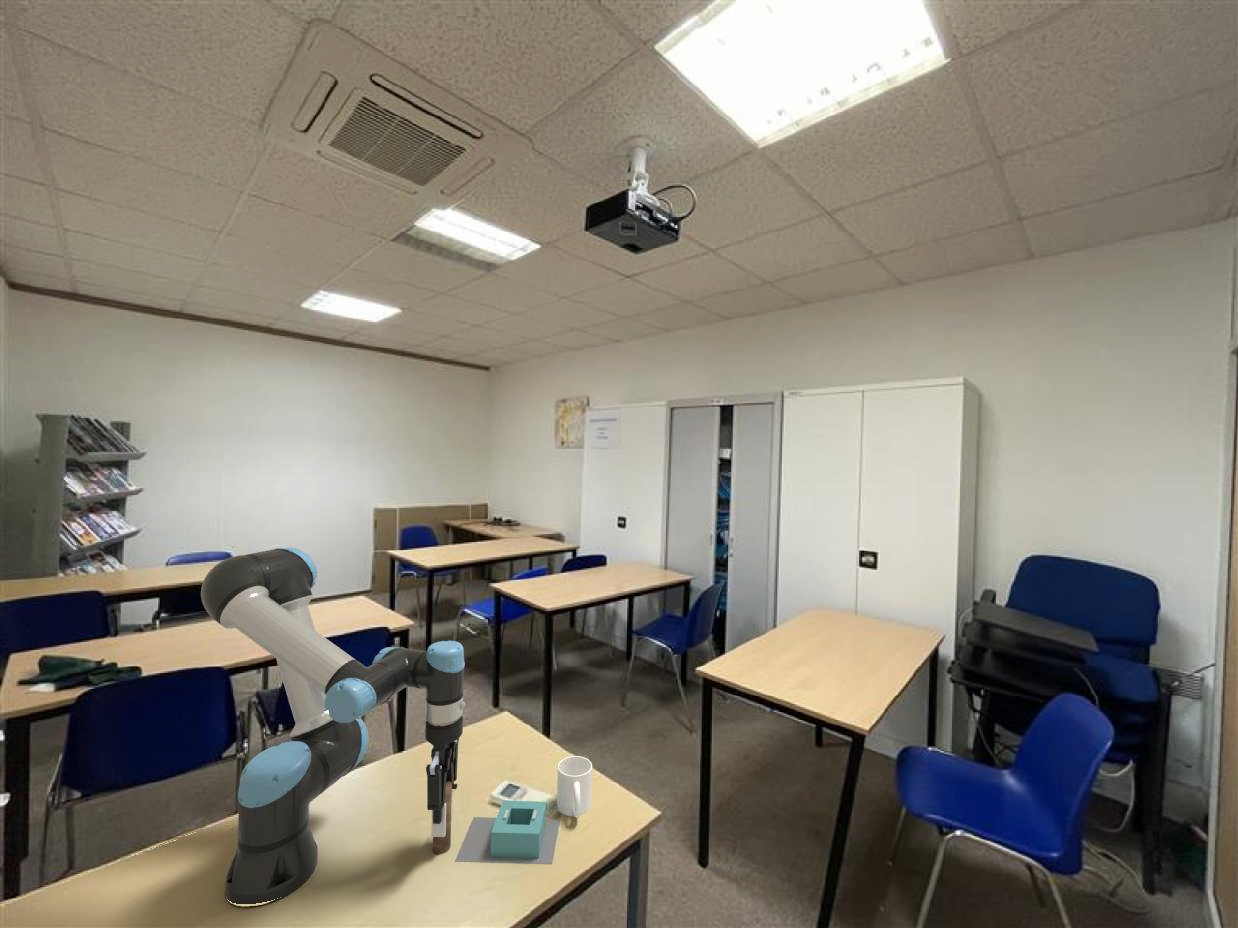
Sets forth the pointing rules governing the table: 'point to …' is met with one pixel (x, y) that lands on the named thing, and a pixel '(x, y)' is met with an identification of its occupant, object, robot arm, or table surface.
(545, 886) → the table surface
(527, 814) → the teal square peg holder
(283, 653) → the robot arm
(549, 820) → the board
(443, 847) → the wooden rounded dowel
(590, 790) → the mug
